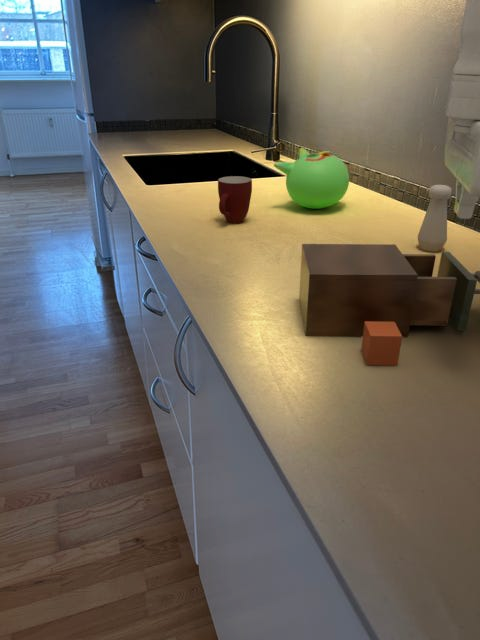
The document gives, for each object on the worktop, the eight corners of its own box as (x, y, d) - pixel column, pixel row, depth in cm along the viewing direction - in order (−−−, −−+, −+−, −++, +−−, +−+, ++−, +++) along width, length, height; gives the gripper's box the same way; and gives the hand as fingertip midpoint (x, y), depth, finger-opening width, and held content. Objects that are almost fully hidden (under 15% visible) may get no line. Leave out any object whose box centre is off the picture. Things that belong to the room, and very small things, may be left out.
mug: (240, 230, 118) (240, 187, 114) (209, 226, 121) (207, 184, 116) (256, 218, 127) (256, 177, 122) (226, 215, 130) (225, 175, 125)
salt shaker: (445, 254, 104) (457, 190, 98) (415, 251, 105) (425, 188, 99) (444, 245, 108) (456, 183, 103) (416, 242, 110) (426, 181, 104)
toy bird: (331, 219, 126) (336, 157, 119) (270, 210, 134) (271, 152, 127) (355, 203, 140) (360, 147, 133) (298, 195, 147) (301, 142, 141)
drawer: (470, 297, 83) (481, 251, 80) (500, 330, 73) (514, 280, 69) (357, 296, 84) (362, 250, 80) (371, 329, 73) (377, 279, 70)
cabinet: (387, 299, 84) (395, 244, 80) (407, 337, 73) (418, 274, 69) (299, 299, 85) (302, 243, 80) (305, 335, 74) (309, 273, 69)
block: (390, 350, 70) (394, 321, 68) (397, 365, 66) (402, 336, 64) (361, 349, 70) (364, 321, 68) (366, 365, 67) (370, 335, 65)
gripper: (543, 110, 51) (508, 242, 58) (494, 97, 69) (471, 199, 76) (477, 108, 52) (450, 238, 59) (445, 96, 70) (427, 196, 77)
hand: (462, 215), depth 67 cm, fingers closed
